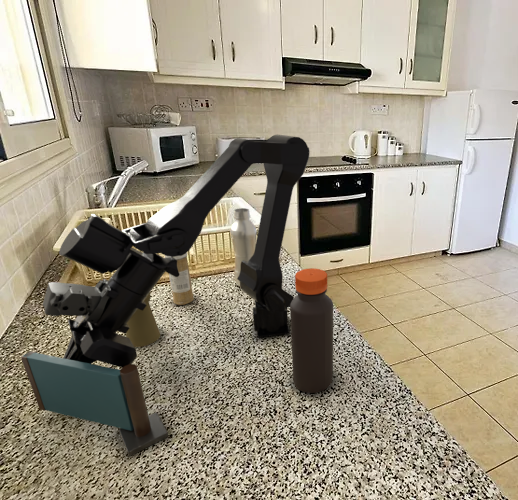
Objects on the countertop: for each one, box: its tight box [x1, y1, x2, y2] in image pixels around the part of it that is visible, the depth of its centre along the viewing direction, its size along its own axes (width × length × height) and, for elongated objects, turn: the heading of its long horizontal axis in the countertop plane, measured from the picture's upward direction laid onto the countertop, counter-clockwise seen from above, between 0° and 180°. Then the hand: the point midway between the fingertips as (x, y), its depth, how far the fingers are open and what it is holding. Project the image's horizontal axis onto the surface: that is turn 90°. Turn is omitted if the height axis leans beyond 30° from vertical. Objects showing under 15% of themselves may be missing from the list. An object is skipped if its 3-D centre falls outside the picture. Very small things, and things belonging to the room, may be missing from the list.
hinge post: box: [118, 363, 169, 457], centre depth 51 cm, size 5×5×12 cm
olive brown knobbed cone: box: [125, 292, 161, 348], centre depth 72 cm, size 6×6×11 cm
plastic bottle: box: [229, 207, 258, 287], centre depth 93 cm, size 6×7×20 cm
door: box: [20, 350, 134, 431], centre depth 53 cm, size 1×16×10 cm, turn 77°
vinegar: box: [289, 267, 334, 394], centre depth 60 cm, size 7×7×20 cm
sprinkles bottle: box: [164, 252, 195, 306], centre depth 86 cm, size 5×5×14 cm
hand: (60, 376), depth 54 cm, fingers closed
